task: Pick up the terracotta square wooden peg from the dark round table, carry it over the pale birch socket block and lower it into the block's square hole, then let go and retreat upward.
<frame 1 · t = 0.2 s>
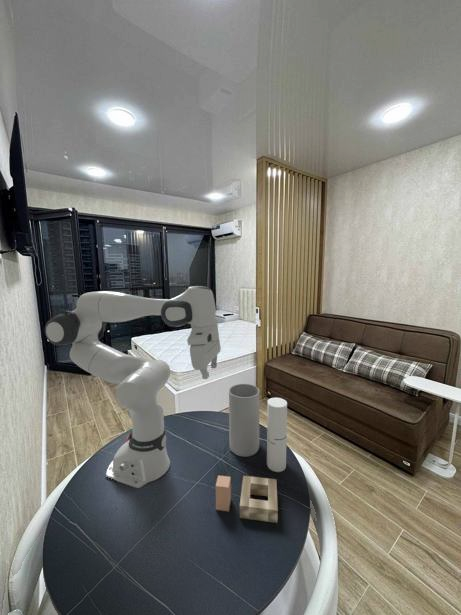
hand: (210, 372, 83), 38 cm above the table, tool pointing down, fingers open, 8 cm apart
cylindrical container: (276, 464, 92), on the table
socket block: (259, 503, 76), on the table
cylinder vase: (244, 447, 101), on the table
peg: (223, 504, 75), on the table
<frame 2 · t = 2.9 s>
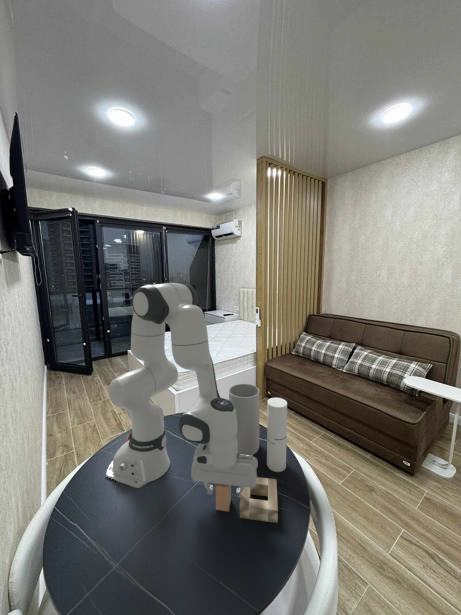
hand: (224, 494, 75), 4 cm above the table, tool pointing down, fingers open, 8 cm apart
nothing on the table moved.
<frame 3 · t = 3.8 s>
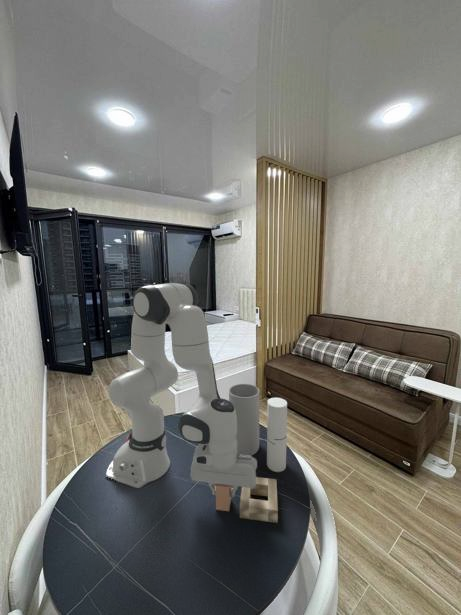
hand: (223, 494, 75), 4 cm above the table, tool pointing down, fingers closed on peg, 4 cm apart
peg: (223, 504, 75), on the table, touching gripper
everything else where it was.
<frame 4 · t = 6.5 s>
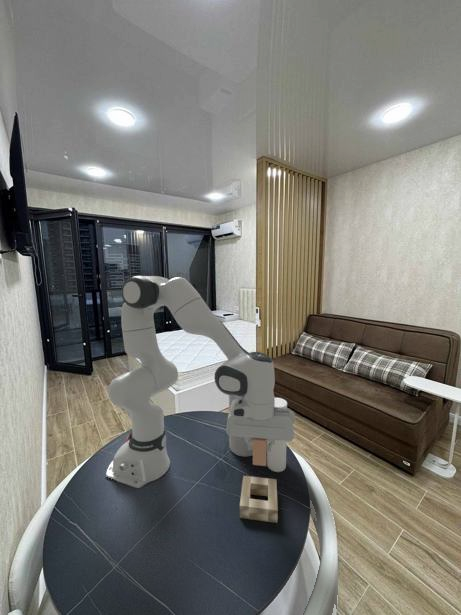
hand: (259, 449, 74), 18 cm above the table, tool pointing down, fingers closed on peg, 4 cm apart
peg: (259, 460, 74), point 15 cm above the table, touching gripper
everything else where it was.
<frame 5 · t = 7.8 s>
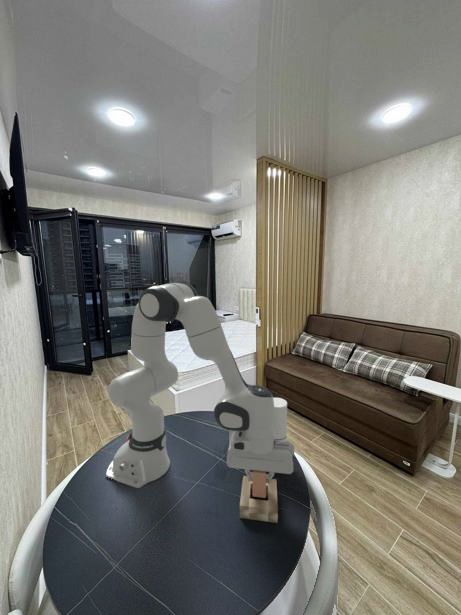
hand: (259, 480, 75), 8 cm above the table, tool pointing down, fingers closed on peg, 4 cm apart
peg: (259, 491, 75), point 4 cm above the table, touching gripper
everything else where it was.
when the fingers open (5 cm above the table, at t = 9.0 s): peg drops 1 cm, resting in socket block.
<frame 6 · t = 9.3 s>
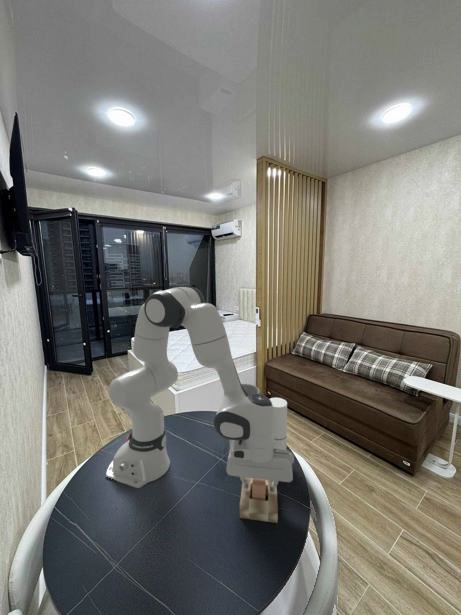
hand: (259, 488, 75), 5 cm above the table, tool pointing down, fingers open, 7 cm apart
peg: (258, 503, 76), resting in socket block
everything else where it was.
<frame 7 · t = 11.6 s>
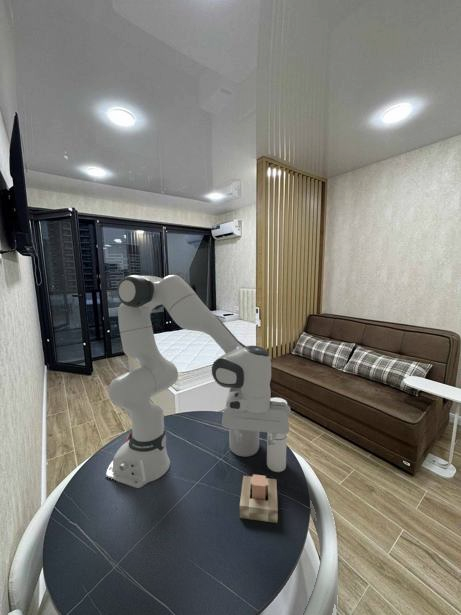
hand: (254, 442, 74), 20 cm above the table, tool pointing down, fingers open, 8 cm apart
nothing on the table moved.
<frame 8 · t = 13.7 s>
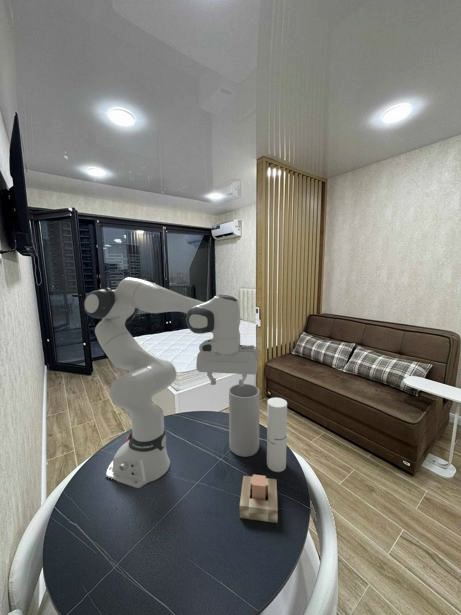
hand: (227, 385, 80), 35 cm above the table, tool pointing down, fingers open, 8 cm apart
nothing on the table moved.
at the end: peg 0.0 cm off-centre on the socket block, point 0.0 cm above the socket block's base; peg tilted 0°; the gripper is holding nothing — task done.
